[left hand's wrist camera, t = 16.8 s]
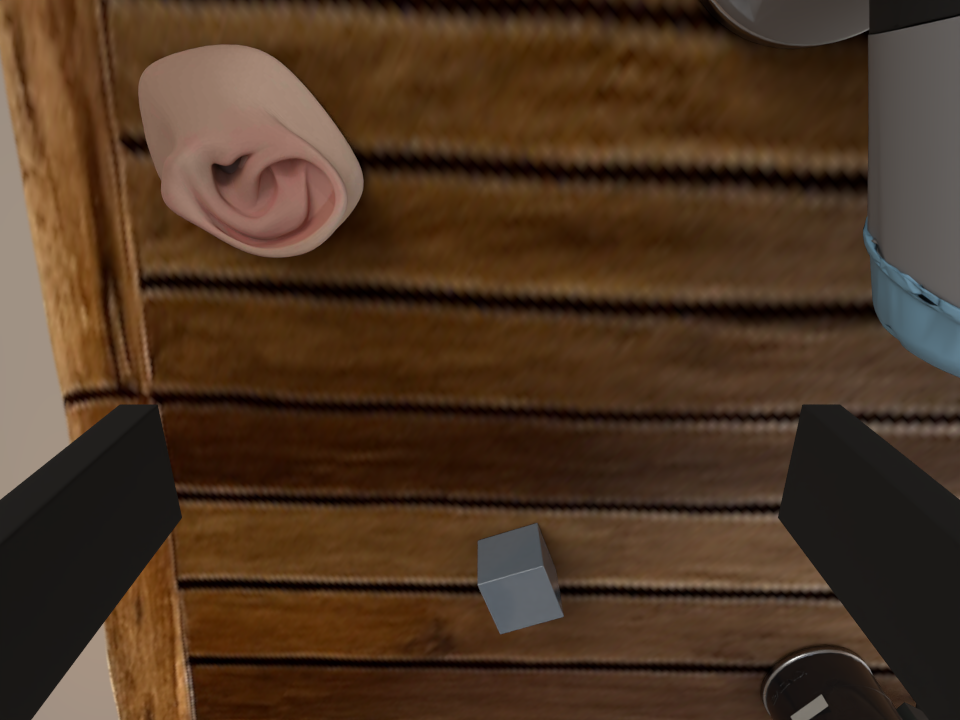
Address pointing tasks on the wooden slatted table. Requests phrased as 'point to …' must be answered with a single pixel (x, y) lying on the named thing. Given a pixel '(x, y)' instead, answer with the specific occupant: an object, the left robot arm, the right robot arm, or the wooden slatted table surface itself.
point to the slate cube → (518, 579)
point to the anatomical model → (247, 150)
